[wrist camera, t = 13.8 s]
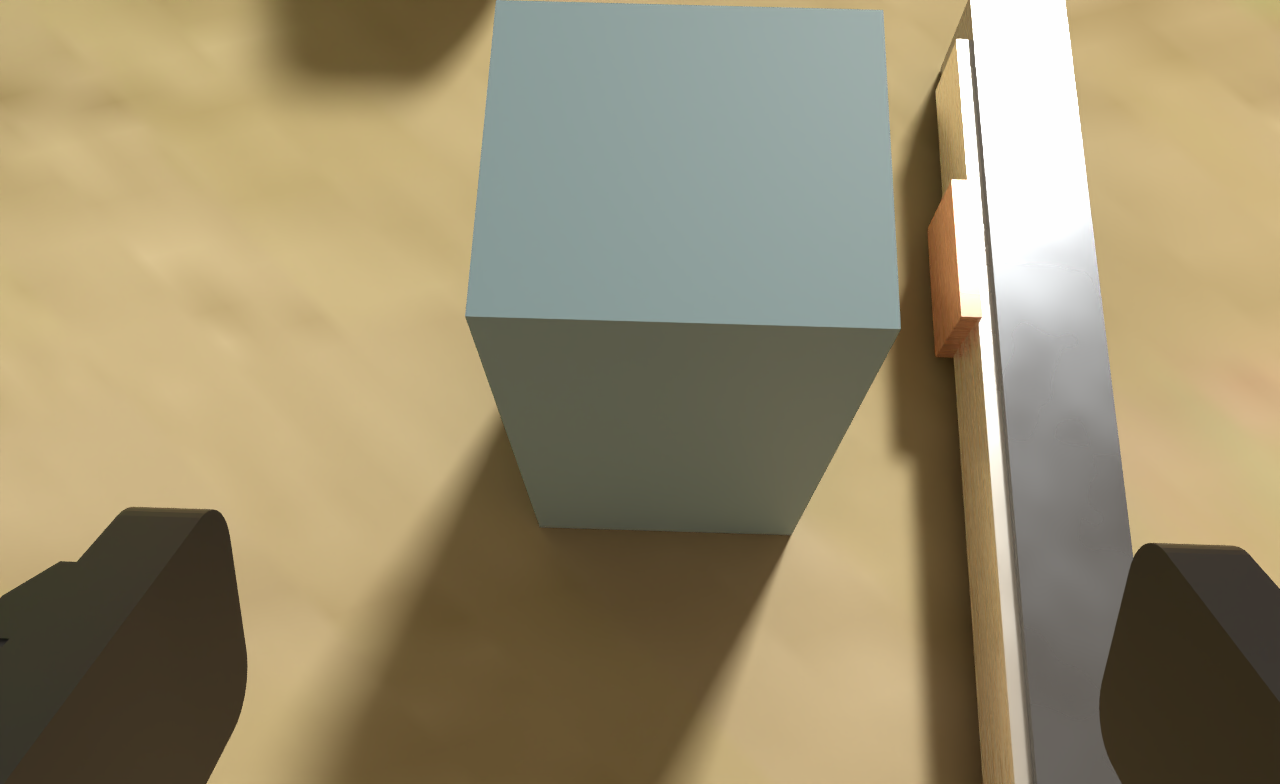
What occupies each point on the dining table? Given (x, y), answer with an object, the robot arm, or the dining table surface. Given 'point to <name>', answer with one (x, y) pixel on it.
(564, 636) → the dining table surface
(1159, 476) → the dining table surface
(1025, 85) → the price rail
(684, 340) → the carton
